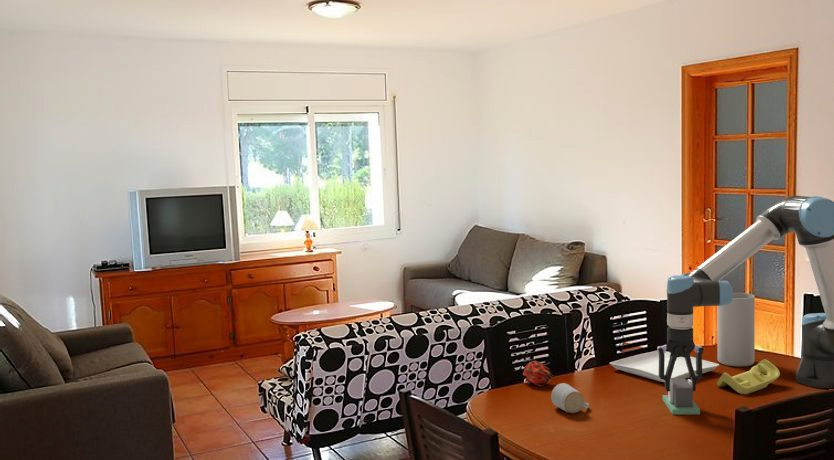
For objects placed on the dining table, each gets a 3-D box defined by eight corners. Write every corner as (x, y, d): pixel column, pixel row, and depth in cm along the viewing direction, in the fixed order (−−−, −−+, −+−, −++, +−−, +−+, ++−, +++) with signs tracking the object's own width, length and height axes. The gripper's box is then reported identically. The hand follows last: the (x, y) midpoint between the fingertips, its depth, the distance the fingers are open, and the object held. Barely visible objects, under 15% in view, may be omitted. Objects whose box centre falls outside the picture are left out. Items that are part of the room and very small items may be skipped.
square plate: (659, 358, 291) (659, 348, 291) (721, 374, 268) (721, 363, 268) (608, 371, 277) (608, 360, 277) (669, 388, 254) (668, 377, 254)
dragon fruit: (526, 383, 270) (550, 396, 260) (512, 373, 265) (535, 386, 255) (538, 362, 271) (562, 374, 261) (525, 352, 266) (548, 364, 257)
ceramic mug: (565, 416, 230) (565, 391, 229) (550, 408, 237) (550, 384, 237) (594, 411, 234) (594, 386, 233) (579, 403, 241) (579, 380, 241)
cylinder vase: (751, 368, 272) (751, 299, 269) (714, 364, 278) (714, 297, 276) (757, 360, 282) (757, 293, 280) (721, 356, 289) (721, 291, 287)
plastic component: (745, 389, 242) (721, 369, 249) (737, 406, 245) (714, 386, 253) (786, 374, 251) (762, 356, 258) (778, 391, 254) (754, 372, 262)
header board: (688, 399, 241) (688, 384, 240) (700, 414, 227) (700, 398, 226) (662, 399, 242) (662, 384, 241) (672, 414, 228) (672, 398, 227)
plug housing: (665, 393, 243) (665, 374, 243) (681, 393, 243) (681, 374, 242) (675, 407, 229) (675, 387, 229) (692, 407, 229) (692, 387, 228)
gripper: (652, 329, 229) (652, 405, 231) (714, 329, 227) (714, 405, 229) (647, 324, 237) (647, 397, 239) (707, 323, 235) (707, 397, 237)
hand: (680, 401), depth 234 cm, fingers open, 5 cm apart
